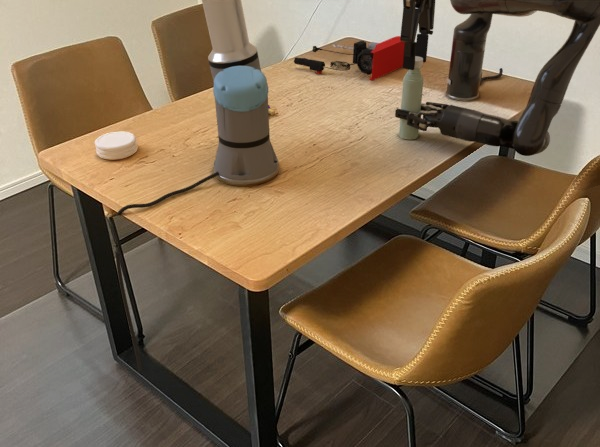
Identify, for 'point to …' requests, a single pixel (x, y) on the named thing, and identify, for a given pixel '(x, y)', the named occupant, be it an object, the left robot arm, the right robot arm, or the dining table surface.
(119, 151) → the white thick disc
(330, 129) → the dining table surface
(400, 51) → the electric hoist
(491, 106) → the dining table surface
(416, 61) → the cap
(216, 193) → the dining table surface
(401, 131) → the bottle
